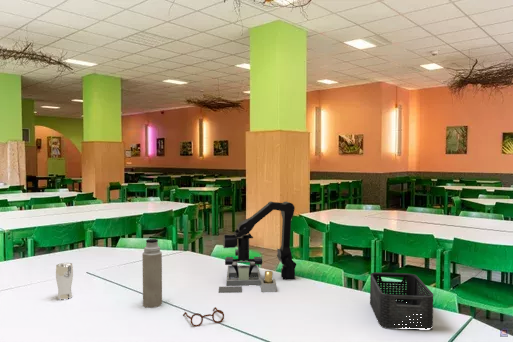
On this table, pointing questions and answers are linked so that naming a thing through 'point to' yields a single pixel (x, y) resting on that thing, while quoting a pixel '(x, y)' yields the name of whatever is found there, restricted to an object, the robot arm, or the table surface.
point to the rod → (268, 276)
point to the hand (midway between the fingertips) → (243, 277)
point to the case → (232, 273)
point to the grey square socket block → (268, 286)
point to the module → (243, 272)
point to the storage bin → (401, 301)
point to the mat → (230, 289)
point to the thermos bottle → (152, 274)
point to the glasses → (206, 316)
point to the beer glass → (64, 280)
